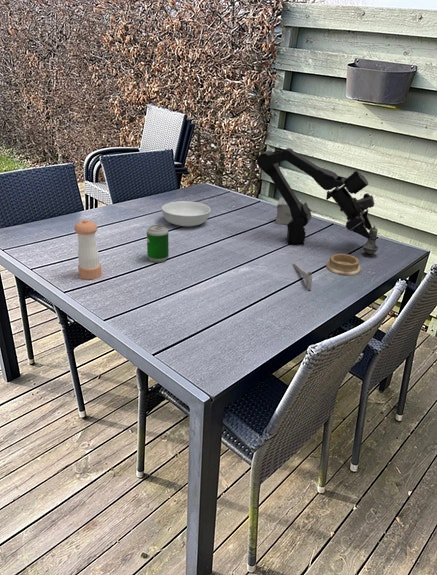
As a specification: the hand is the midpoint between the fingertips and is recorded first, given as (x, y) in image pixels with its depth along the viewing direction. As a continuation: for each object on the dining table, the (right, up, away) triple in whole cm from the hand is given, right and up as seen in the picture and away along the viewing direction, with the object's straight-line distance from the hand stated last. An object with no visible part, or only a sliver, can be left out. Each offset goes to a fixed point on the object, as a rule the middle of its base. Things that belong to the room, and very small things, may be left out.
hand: (370, 233), depth 179 cm
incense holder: (-26, +8, +33) cm, 43 cm away
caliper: (-29, -17, -16) cm, 37 cm away
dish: (-12, -13, -8) cm, 20 cm away
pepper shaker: (-100, -16, -21) cm, 103 cm away
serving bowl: (-71, +8, +28) cm, 77 cm away
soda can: (-79, -10, -7) cm, 80 cm away
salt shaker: (0, -8, +4) cm, 9 cm away
